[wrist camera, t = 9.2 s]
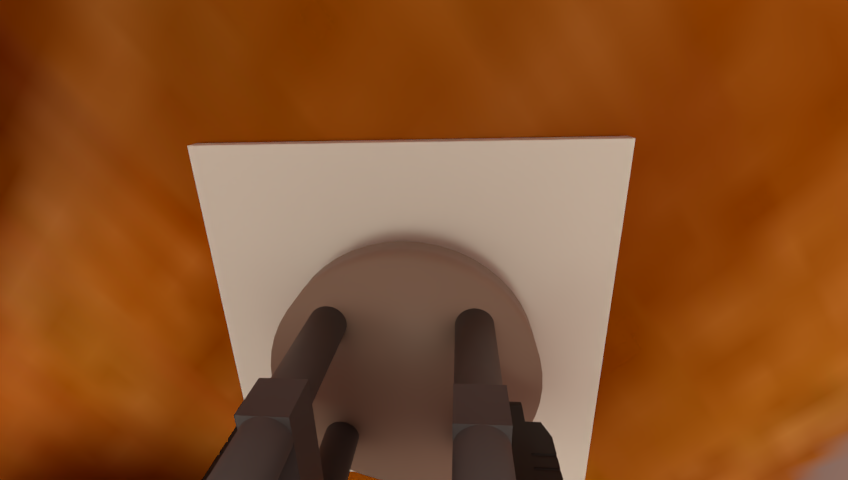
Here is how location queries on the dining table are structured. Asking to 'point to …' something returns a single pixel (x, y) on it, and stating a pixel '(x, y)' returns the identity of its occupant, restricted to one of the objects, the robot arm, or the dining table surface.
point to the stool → (391, 374)
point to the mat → (429, 238)
